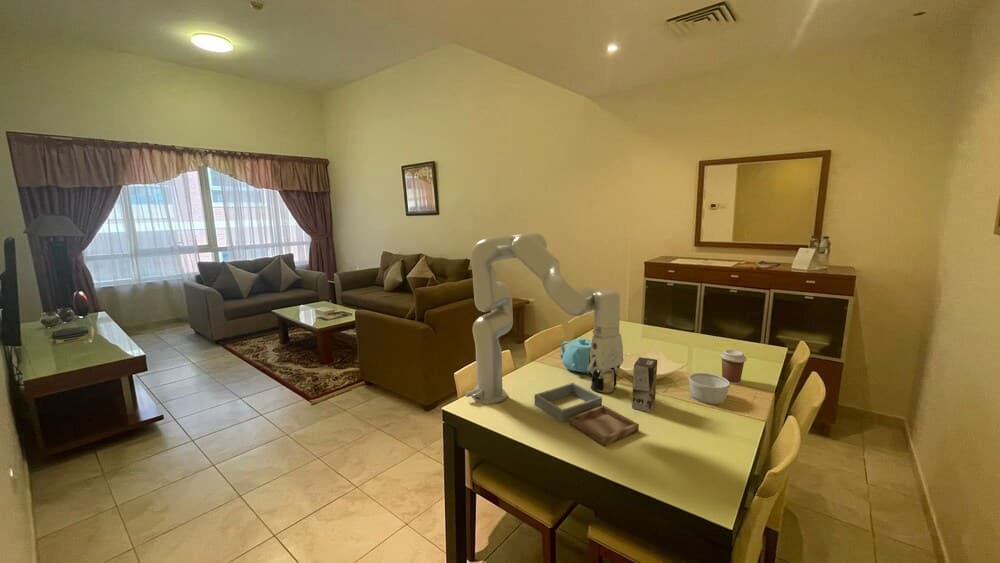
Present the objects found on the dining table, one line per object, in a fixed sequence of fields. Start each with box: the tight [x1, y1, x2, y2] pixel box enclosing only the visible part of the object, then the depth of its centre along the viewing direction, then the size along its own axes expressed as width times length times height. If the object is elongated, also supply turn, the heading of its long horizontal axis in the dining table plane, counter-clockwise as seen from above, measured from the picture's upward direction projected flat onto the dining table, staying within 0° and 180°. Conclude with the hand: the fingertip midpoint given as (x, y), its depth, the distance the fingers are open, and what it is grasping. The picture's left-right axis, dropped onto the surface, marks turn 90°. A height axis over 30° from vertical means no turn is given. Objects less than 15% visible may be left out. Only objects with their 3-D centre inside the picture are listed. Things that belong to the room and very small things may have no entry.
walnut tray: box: [569, 404, 640, 448], centre depth 128 cm, size 15×15×2 cm
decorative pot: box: [559, 337, 592, 374], centre depth 176 cm, size 16×16×14 cm
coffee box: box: [631, 356, 658, 413], centre depth 142 cm, size 9×6×16 cm
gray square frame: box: [534, 382, 603, 424], centre depth 143 cm, size 18×15×4 cm
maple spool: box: [597, 369, 614, 394], centre depth 126 cm, size 5×5×6 cm
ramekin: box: [688, 372, 731, 405], centre depth 147 cm, size 13×13×7 cm
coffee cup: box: [719, 348, 748, 385], centre depth 160 cm, size 9×9×12 cm
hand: (605, 386), depth 126 cm, fingers closed on maple spool, 4 cm apart
